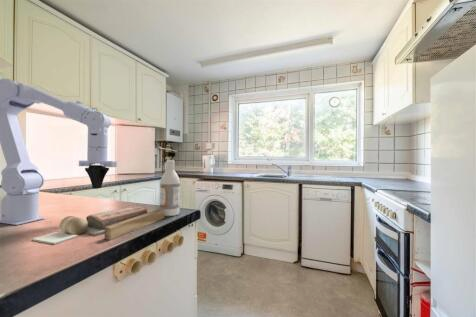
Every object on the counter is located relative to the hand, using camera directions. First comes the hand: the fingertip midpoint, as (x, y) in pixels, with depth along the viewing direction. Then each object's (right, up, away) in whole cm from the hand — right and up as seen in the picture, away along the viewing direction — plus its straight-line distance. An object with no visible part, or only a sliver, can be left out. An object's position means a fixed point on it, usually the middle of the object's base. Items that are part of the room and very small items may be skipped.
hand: (96, 188), depth 76 cm
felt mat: (+1, -10, -19) cm, 21 cm away
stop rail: (+18, -11, -8) cm, 22 cm away
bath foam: (+22, -11, +8) cm, 26 cm away
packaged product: (+10, -11, -6) cm, 16 cm away
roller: (+2, -8, -16) cm, 19 cm away
